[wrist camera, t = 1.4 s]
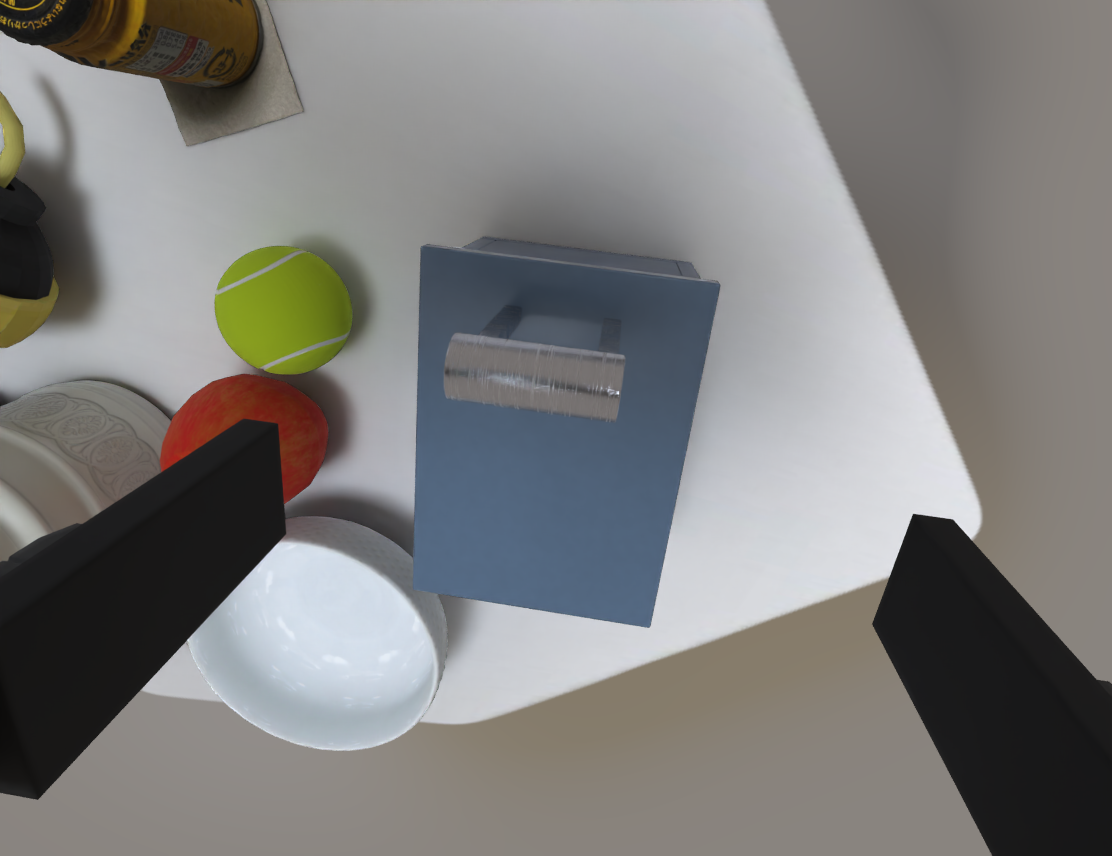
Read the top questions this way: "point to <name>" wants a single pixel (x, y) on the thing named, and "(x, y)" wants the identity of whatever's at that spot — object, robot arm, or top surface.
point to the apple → (256, 401)
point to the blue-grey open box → (584, 256)
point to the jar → (72, 456)
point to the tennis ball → (283, 310)
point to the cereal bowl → (327, 639)
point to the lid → (552, 428)
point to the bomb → (21, 244)
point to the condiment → (173, 54)
